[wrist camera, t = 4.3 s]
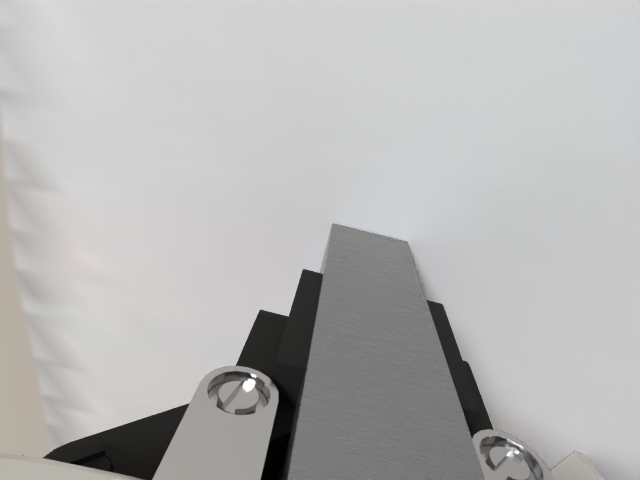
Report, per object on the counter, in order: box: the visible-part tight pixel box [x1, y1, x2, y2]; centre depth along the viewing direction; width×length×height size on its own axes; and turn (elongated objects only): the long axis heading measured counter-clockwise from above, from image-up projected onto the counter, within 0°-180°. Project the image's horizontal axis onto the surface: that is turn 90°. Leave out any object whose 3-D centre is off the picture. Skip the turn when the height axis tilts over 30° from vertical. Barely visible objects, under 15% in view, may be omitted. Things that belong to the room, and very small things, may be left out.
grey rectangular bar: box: [278, 224, 485, 480], centre depth 10 cm, size 4×2×11 cm, turn 167°
